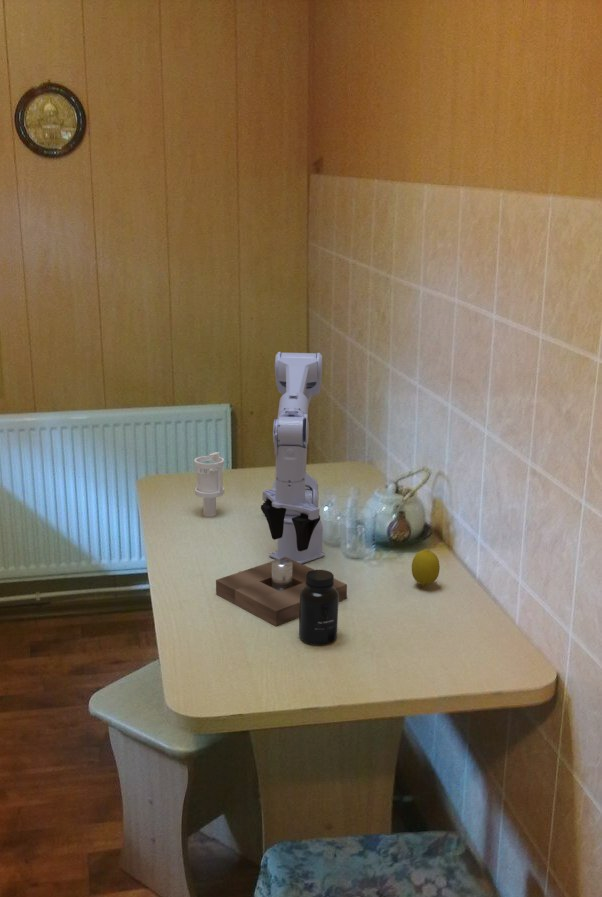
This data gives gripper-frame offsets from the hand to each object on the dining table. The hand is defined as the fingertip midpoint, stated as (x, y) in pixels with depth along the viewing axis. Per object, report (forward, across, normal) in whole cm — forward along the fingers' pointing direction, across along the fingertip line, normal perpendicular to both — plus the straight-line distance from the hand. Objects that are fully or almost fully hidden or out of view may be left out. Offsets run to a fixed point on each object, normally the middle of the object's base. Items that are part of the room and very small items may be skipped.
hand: (289, 543), depth 181 cm
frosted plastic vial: (+10, +2, -3) cm, 10 cm away
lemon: (+10, +16, +22) cm, 29 cm away
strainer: (+10, -45, +13) cm, 48 cm away
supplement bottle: (+10, +18, -9) cm, 23 cm away
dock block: (+10, +2, -3) cm, 10 cm away
